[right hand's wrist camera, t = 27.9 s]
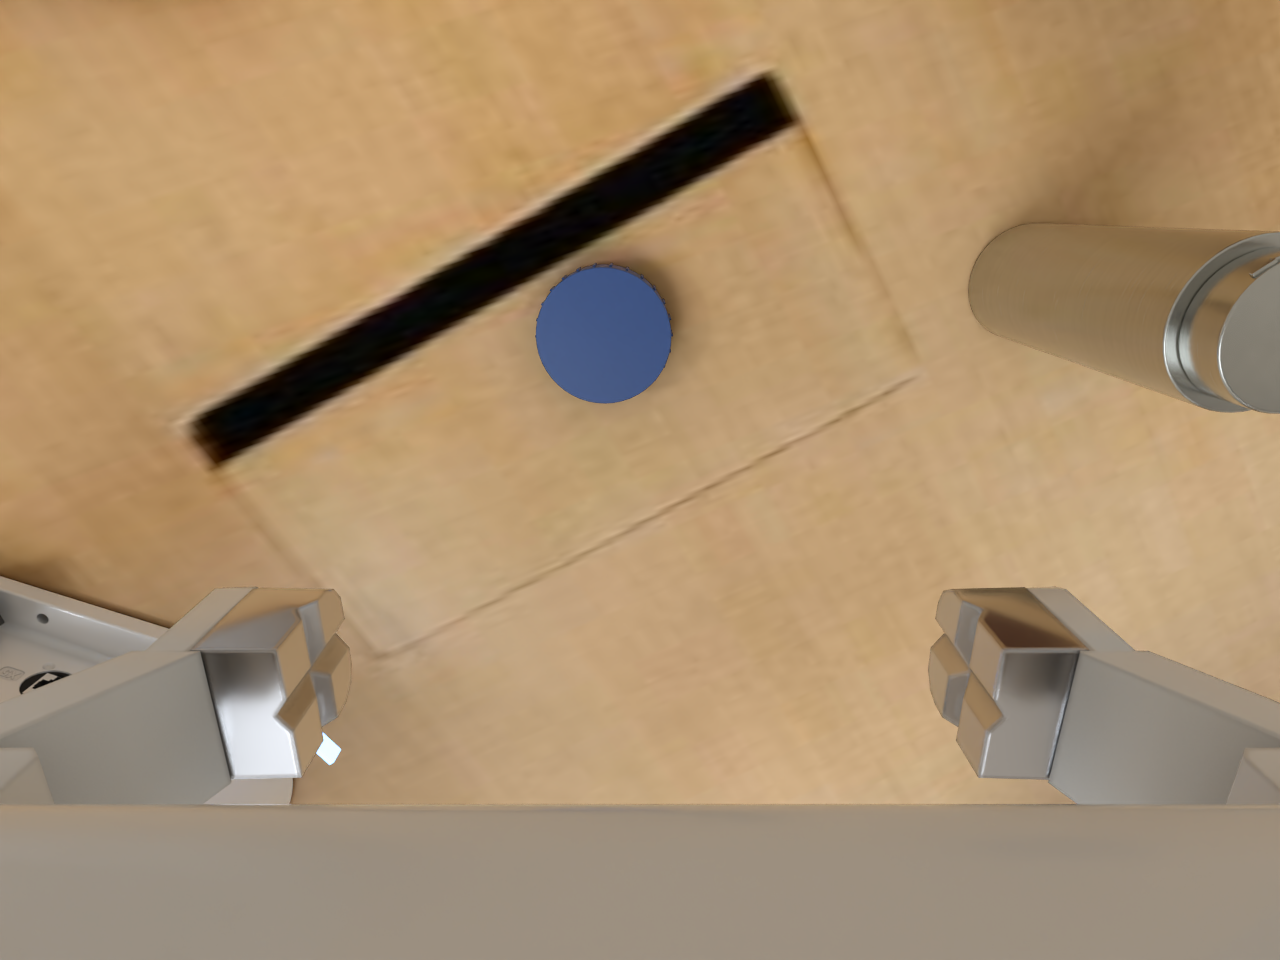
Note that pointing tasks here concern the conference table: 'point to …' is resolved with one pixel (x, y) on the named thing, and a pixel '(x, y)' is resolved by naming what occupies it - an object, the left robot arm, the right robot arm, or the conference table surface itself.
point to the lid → (604, 333)
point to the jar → (1143, 306)
